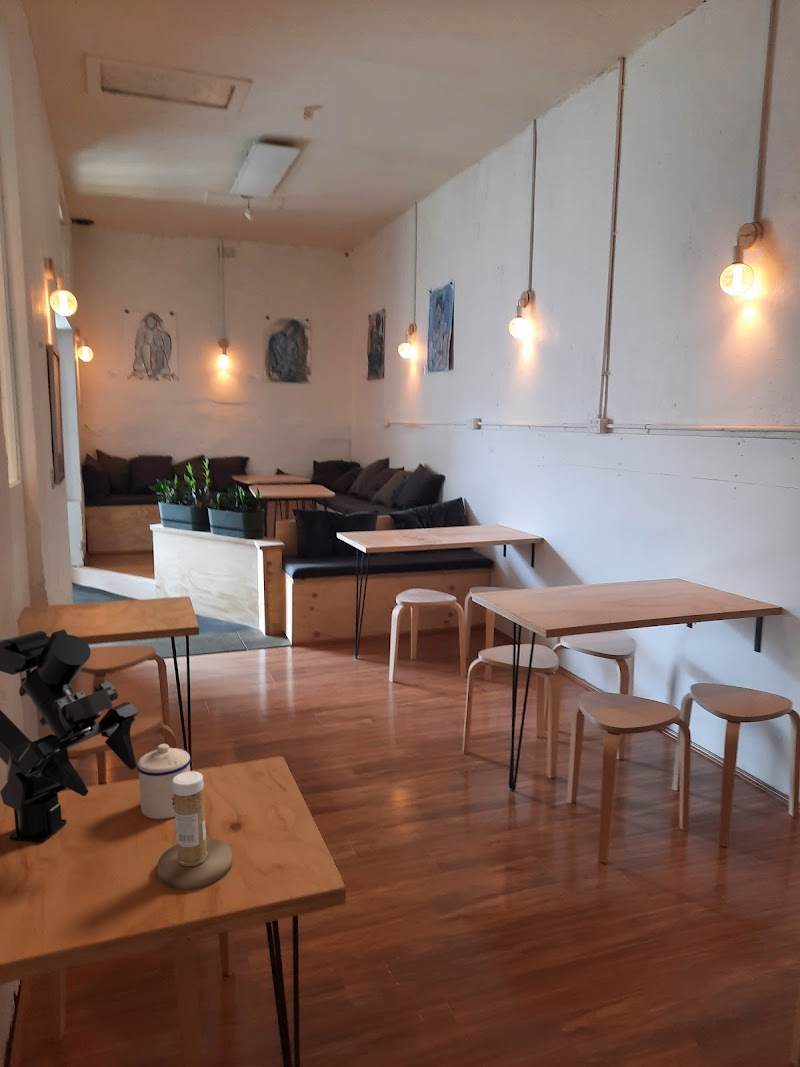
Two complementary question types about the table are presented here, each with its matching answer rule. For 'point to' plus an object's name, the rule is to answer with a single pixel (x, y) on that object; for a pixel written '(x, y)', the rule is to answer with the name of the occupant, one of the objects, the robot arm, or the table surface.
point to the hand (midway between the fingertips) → (111, 781)
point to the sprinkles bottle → (189, 818)
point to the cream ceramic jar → (160, 780)
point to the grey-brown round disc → (195, 867)
